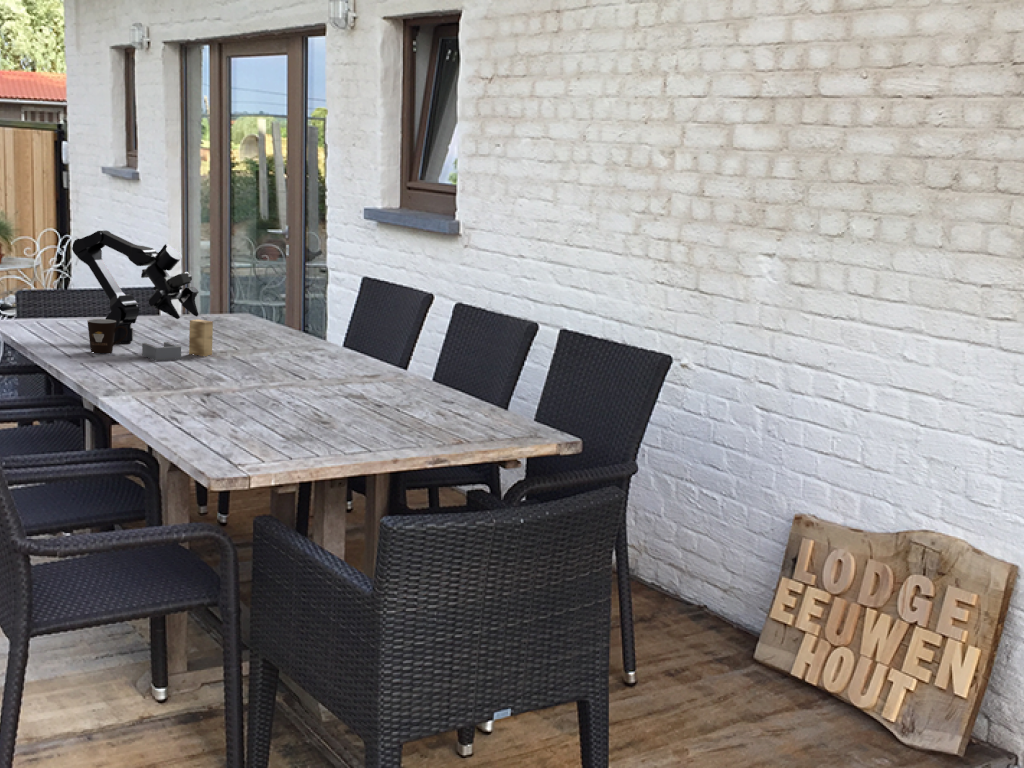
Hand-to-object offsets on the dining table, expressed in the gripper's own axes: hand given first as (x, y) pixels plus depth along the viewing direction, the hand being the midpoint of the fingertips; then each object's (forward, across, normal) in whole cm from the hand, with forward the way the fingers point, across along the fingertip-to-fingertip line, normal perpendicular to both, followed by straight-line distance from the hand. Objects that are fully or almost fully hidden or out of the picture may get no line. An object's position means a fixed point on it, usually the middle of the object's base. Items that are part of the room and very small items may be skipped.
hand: (188, 317), depth 389 cm
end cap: (+8, -13, +8) cm, 17 cm away
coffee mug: (-4, -19, +20) cm, 28 cm away
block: (+12, 0, +5) cm, 13 cm away
